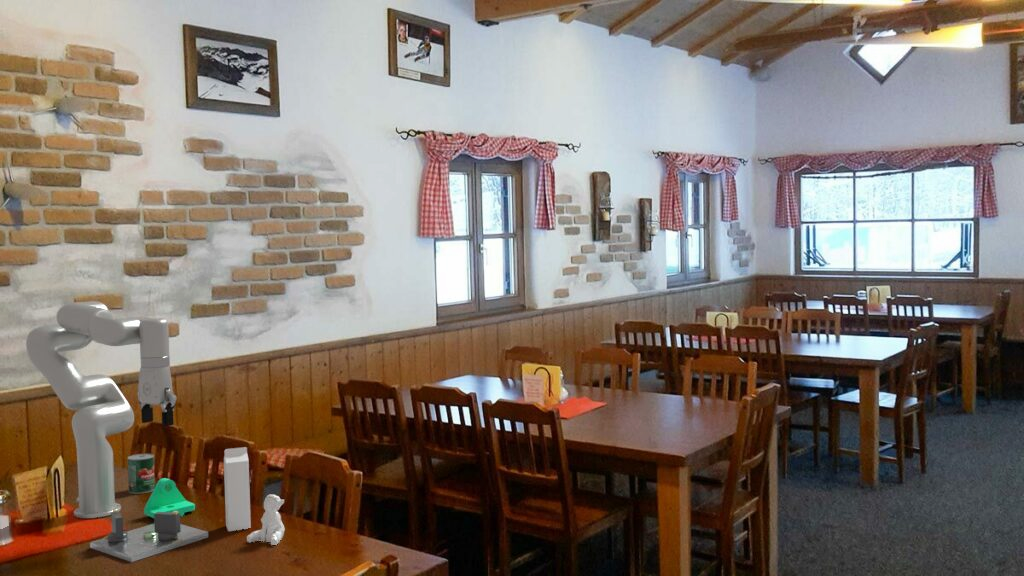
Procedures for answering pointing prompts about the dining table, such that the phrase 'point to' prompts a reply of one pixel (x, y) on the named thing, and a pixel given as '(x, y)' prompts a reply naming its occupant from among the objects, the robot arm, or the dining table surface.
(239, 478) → the milk
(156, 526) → the knob
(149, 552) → the plate
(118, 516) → the knob
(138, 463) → the canned tomato
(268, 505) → the sitting furry creature
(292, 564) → the dining table surface
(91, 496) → the robot arm
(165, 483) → the camera mount
